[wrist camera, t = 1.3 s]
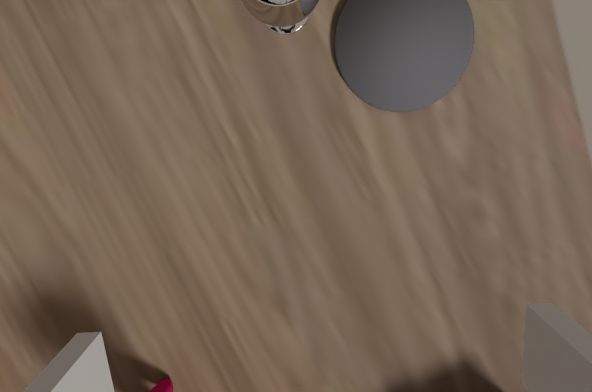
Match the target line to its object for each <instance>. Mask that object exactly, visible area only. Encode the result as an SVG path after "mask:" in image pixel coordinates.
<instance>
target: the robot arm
mask: <svg viewBox="0 0 592 392" xmlns="http://www.w3.org/2000/svg"><path fill="white" fill-rule="evenodd" d="M521 382H522V383H523V385H524V386H525V387H526V389H527V390H528V391H529V392H592V335H591V334H590V333H589V332H587V331H586V330H585V329H584V328H583V327H581V326H580V325H579V324H578V323H576V322H575V321H574V320H573V319H572V318H570V317H569V316H568V315H567V314H566V313H564V312H563V311H562V310H561V309H559V308H558V307H557V306H556V305H555V304H553V303H537V304H527V305H526V320H525V334H524V348H523V362H522V376H521ZM23 392H114V387H113V383H112V378H111V374H110V369H109V365H108V360H107V356H106V351H105V347H104V342H103V338H102V333H101V332H86V333H77V334H76V335H75V336H74V337H73V338H72V339H71V340H70V341H69V342H68V343H67V344H66V346H65V347H64V348H63V349H62V350H61V351H60V352H59V353H58V354H57V355H56V356H55V357H54V358H53V359H52V361H51V362H50V363H49V364H48V365H47V366H46V367H45V368H44V369H43V370H42V371H41V372H40V373H39V374H38V376H37V377H36V378H35V379H34V380H33V381H32V382H31V383H30V384H29V385H28V386H27V387H26V388H25V389H24V391H23Z"/></svg>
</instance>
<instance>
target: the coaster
mask: <svg viewBox="0 0 592 392" xmlns="http://www.w3.org/2000/svg"><path fill="white" fill-rule="evenodd" d="M473 44H474V23H473V18H472V13H471V10H470V7H469V4H468V2H467V0H348V1H347V2H346V4H345V6H344V8H343V10H342V12H341V14H340V17H339V20H338V23H337V27H336V32H335V55H336V61H337V64H338V68H339V70H340V73H341V75H342V77H343V79H344V80H345V82H346V84H347V85H348V86H349V88H350V89H351V90H352V91H353V92H354V93H355V94H356V95H357V96H358V97H359V98H360V99H362V100H363V101H364V102H366V103H368V104H370V105H372V106H374V107H376V108H379V109H383V110H387V111H395V112H407V111H413V110H417V109H421V108H424V107H426V106H428V105H430V104H433V103H434V102H436V101H438V100H439V99H441V98H442V97H443V96H444V95H446V94H447V93H448V92H449V91H450V90H451V89H452V88H453V87H454V86H455V85H456V83H457V82H458V81H459V79H460V78H461V76H462V75H463V73H464V71H465V69H466V67H467V65H468V63H469V60H470V57H471V54H472V49H473Z"/></svg>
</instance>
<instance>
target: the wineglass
mask: <svg viewBox="0 0 592 392" xmlns="http://www.w3.org/2000/svg"><path fill="white" fill-rule="evenodd" d="M241 1H242V2H243V4H244V6H245V7H246V9H247V10H248V11H249V12H250V13H251V15H253V16H254V17H255V18H256V19H257V20H259V21H261V22H263V23H264V24H265V25H266V26H267V27H268V28H269V29H270V30H272V31H273V32H275V33H278V34H284V35H286V34H292V33H295V32H296V31H298V30H300V29H301V28H302V27H303V26H304V25H305V23H306V22H307V20H308V17H309V15H310V13H311V12H312V11H313V10H314V9H315V7H316V5H317V4H318V2H319V0H241Z"/></svg>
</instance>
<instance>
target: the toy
mask: <svg viewBox="0 0 592 392" xmlns="http://www.w3.org/2000/svg"><path fill="white" fill-rule="evenodd" d="M150 392H173V385H172V381H171V380H170V379H167V378H166V379H164V380H162V381H160V382H159V383H158V384H157V385H156V386H155V387H154V388H153V389H152V390H151V391H150Z"/></svg>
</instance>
